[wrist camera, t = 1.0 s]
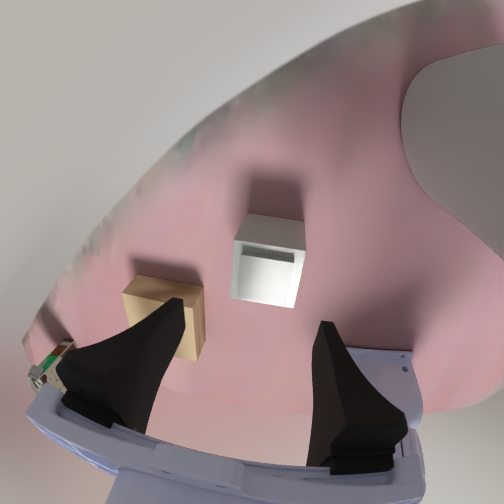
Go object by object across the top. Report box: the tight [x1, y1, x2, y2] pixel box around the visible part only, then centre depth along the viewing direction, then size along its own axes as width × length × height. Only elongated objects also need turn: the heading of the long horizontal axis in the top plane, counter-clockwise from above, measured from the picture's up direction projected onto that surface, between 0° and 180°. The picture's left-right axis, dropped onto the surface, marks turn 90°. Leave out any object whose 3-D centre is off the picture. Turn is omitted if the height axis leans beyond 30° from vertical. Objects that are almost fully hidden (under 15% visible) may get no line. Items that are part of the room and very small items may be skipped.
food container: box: [27, 339, 78, 394], centre depth 33 cm, size 12×6×10 cm, turn 179°
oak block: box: [122, 274, 206, 361], centre depth 26 cm, size 7×7×4 cm
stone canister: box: [230, 213, 306, 308], centre depth 20 cm, size 4×4×6 cm
